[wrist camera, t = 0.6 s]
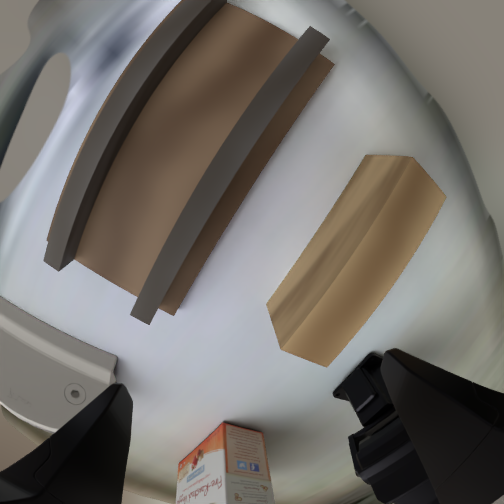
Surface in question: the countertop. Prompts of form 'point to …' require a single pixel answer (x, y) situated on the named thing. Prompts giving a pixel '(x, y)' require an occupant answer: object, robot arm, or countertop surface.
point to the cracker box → (226, 469)
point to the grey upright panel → (47, 370)
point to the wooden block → (354, 257)
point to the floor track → (181, 148)
